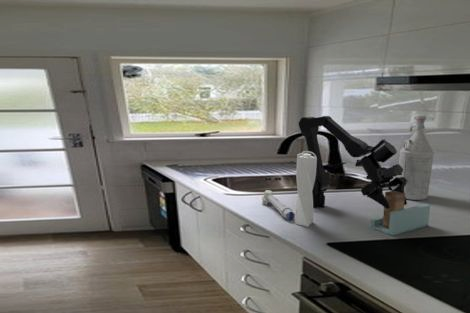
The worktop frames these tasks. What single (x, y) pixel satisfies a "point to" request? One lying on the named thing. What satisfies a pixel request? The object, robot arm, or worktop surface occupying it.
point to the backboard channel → (404, 220)
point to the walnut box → (392, 205)
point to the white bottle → (416, 162)
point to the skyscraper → (305, 187)
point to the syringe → (277, 205)
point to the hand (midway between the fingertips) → (397, 206)
